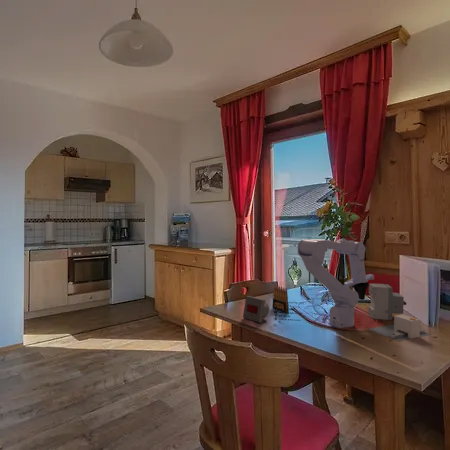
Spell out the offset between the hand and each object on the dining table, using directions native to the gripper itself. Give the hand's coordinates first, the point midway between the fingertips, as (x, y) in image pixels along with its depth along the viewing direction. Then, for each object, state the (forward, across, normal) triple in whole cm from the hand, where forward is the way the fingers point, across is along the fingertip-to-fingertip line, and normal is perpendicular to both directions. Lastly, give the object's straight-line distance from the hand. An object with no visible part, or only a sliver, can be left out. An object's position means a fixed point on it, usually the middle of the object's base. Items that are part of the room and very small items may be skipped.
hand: (361, 299), depth 143 cm
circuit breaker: (+13, +12, -1) cm, 18 cm away
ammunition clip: (+6, -26, +27) cm, 38 cm away
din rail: (+9, +2, -20) cm, 22 cm away
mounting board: (+10, +1, -17) cm, 20 cm away
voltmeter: (+3, -38, +14) cm, 40 cm away
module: (+9, +2, -20) cm, 22 cm away
